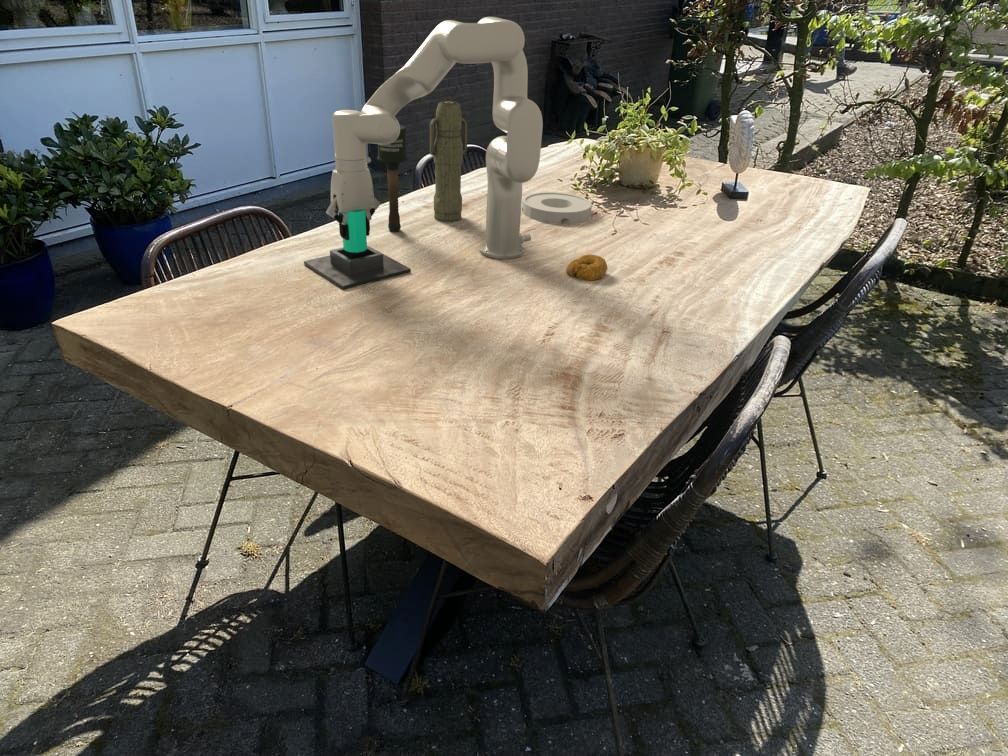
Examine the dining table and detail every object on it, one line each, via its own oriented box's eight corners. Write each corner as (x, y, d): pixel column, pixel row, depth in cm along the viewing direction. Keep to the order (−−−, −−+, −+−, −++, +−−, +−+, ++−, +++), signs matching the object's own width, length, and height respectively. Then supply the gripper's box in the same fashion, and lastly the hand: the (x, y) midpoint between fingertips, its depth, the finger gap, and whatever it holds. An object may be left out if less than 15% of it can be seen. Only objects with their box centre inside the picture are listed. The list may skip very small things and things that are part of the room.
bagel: (564, 266, 194) (566, 250, 191) (604, 269, 194) (606, 252, 191) (566, 280, 185) (568, 263, 183) (608, 283, 185) (610, 266, 183)
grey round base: (545, 199, 250) (546, 188, 248) (603, 213, 238) (604, 201, 236) (507, 213, 233) (508, 201, 231) (567, 229, 222) (568, 217, 220)
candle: (362, 253, 179) (359, 207, 173) (339, 250, 180) (336, 204, 174) (370, 246, 184) (368, 200, 178) (348, 243, 185) (346, 198, 179)
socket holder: (369, 249, 197) (368, 234, 195) (410, 272, 184) (410, 256, 182) (304, 264, 185) (302, 248, 183) (343, 289, 173) (342, 272, 170)
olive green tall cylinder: (471, 219, 225) (474, 103, 207) (438, 224, 219) (439, 105, 201) (456, 211, 231) (458, 98, 213) (425, 216, 225) (424, 100, 207)
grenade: (374, 232, 210) (370, 127, 195) (389, 224, 217) (386, 122, 202) (399, 237, 207) (397, 131, 192) (413, 228, 214) (412, 126, 199)
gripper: (373, 157, 179) (375, 226, 188) (311, 165, 168) (317, 238, 178) (389, 163, 174) (391, 234, 183) (327, 172, 164) (332, 247, 173)
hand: (355, 235), depth 180 cm, fingers closed on candle, 5 cm apart
